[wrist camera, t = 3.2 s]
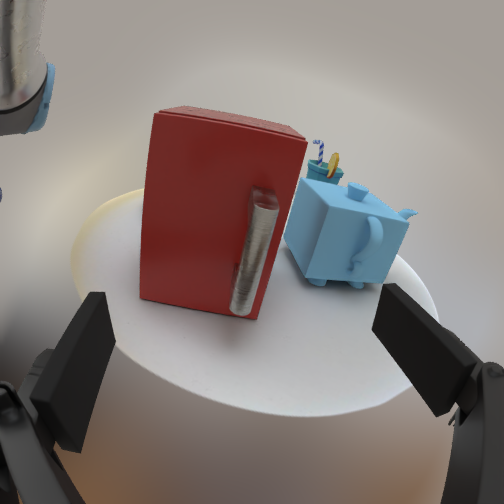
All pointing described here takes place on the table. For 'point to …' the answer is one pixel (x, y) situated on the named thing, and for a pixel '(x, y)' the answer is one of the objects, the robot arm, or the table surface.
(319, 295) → the table surface
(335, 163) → the cup
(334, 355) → the table surface
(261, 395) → the table surface
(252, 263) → the cabinet door
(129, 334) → the table surface
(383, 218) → the teapot
